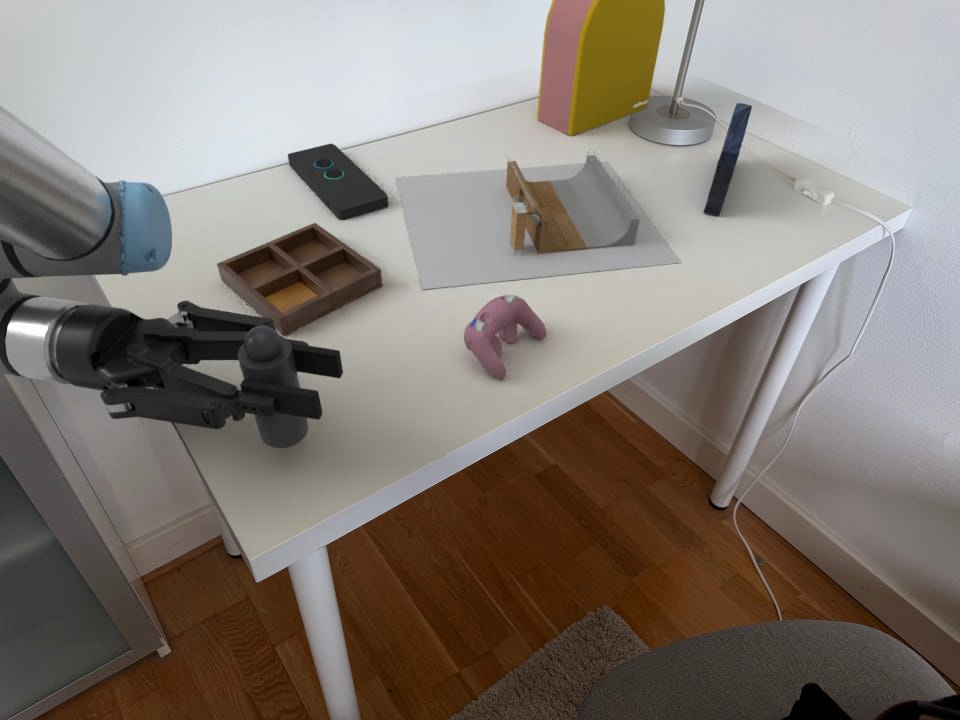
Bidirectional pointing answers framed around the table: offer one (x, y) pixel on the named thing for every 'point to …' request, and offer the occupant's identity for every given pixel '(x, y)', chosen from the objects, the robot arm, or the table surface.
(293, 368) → the pawn
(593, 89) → the yellow and pink slab
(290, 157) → the smart home device
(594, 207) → the skate ramp
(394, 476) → the table surface
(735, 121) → the vhs cassette tape
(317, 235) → the grid
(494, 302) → the video game controller
